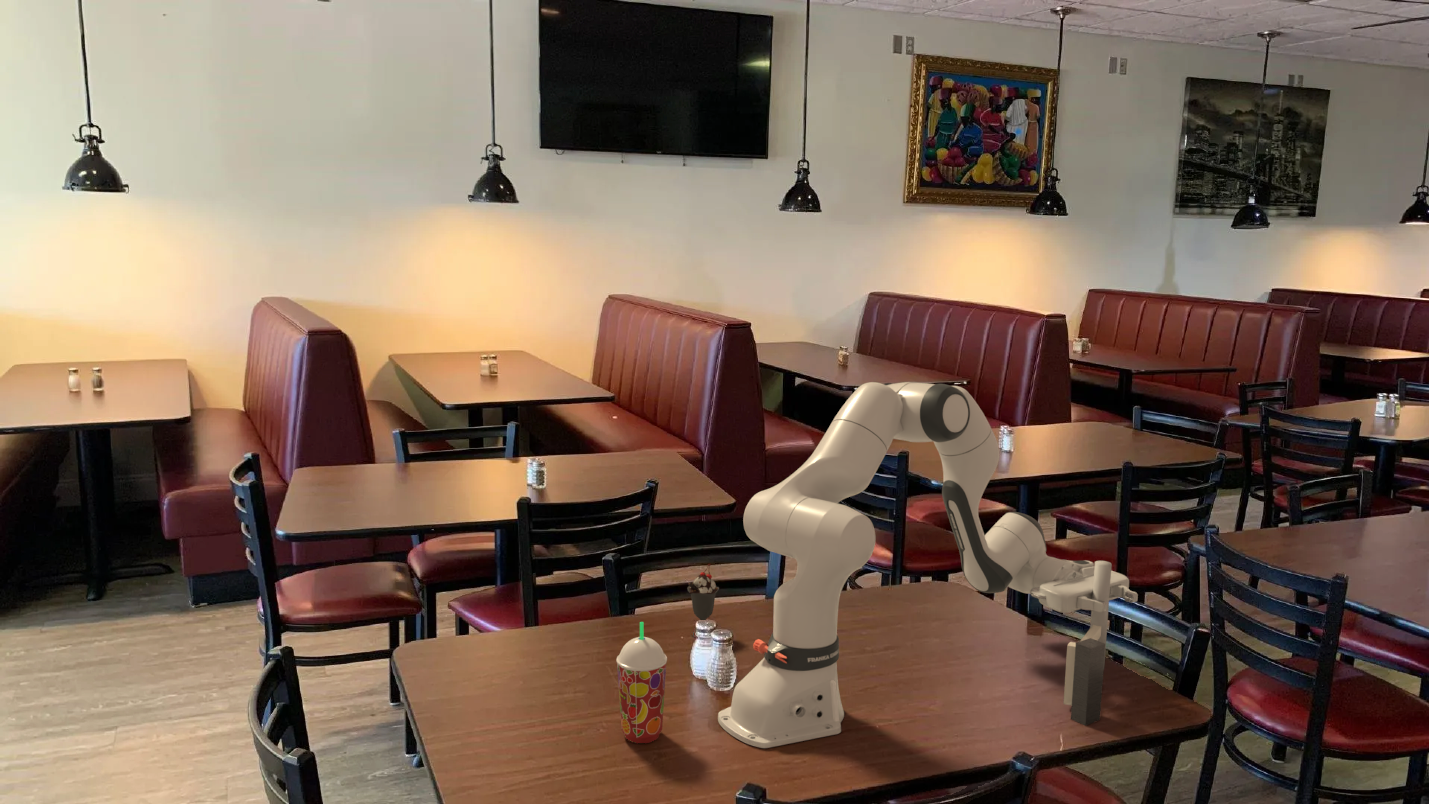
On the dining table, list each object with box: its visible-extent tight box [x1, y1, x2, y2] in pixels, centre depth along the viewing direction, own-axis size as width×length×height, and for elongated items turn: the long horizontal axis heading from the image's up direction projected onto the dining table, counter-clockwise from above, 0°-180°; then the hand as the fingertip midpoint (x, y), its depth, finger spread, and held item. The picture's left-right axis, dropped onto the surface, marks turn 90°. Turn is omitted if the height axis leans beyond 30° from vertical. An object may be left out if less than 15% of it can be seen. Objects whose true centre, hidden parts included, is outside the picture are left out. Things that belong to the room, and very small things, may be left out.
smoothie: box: [615, 621, 668, 744], centre depth 173 cm, size 8×8×20 cm
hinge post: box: [1070, 638, 1106, 727], centre depth 181 cm, size 4×3×14 cm
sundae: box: [686, 563, 720, 638], centre depth 218 cm, size 7×7×15 cm
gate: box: [1063, 560, 1113, 707], centre depth 192 cm, size 21×3×21 cm, turn 147°
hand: (1120, 603), depth 197 cm, fingers open, 8 cm apart
